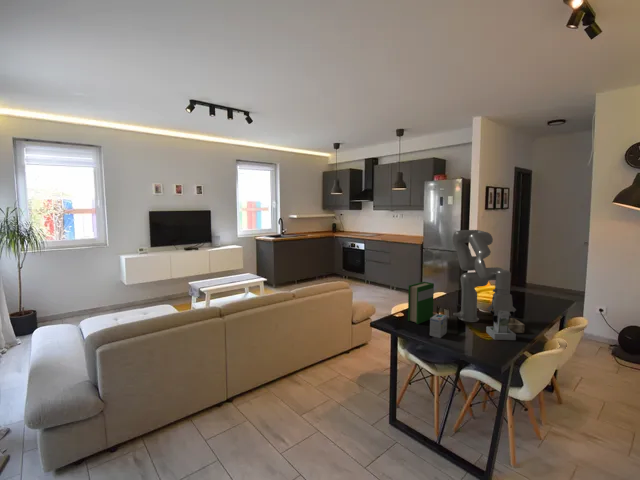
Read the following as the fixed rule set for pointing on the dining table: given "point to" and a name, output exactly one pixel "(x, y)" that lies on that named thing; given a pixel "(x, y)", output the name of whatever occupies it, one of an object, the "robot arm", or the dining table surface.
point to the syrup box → (501, 322)
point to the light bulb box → (438, 325)
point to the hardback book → (420, 302)
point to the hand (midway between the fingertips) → (500, 321)
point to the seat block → (501, 334)
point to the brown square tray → (516, 326)
